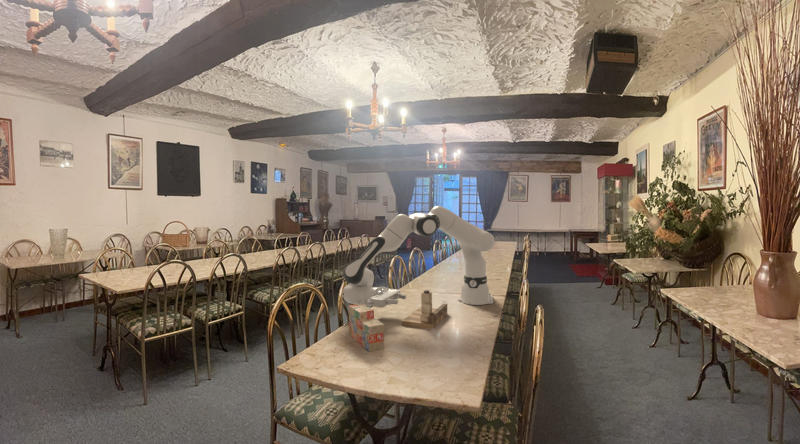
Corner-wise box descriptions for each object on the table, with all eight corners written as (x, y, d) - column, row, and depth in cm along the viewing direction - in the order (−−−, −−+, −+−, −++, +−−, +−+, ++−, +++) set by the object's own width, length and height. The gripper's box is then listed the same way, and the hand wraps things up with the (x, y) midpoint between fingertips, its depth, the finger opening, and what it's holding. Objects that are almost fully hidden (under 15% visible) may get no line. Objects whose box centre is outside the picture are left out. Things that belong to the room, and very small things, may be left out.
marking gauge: (425, 316, 168) (425, 288, 168) (433, 317, 167) (433, 289, 166) (420, 321, 162) (419, 292, 162) (429, 322, 161) (428, 292, 160)
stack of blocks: (384, 348, 137) (383, 316, 137) (368, 352, 134) (368, 318, 134) (363, 331, 156) (362, 302, 156) (348, 334, 153) (348, 304, 153)
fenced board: (420, 311, 184) (419, 301, 184) (447, 314, 178) (447, 303, 178) (401, 325, 163) (401, 314, 163) (432, 329, 157) (432, 317, 157)
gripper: (363, 295, 164) (392, 298, 159) (383, 285, 183) (409, 288, 177) (364, 309, 164) (392, 312, 159) (384, 298, 183) (410, 301, 178)
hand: (401, 299), depth 168 cm, fingers open, 8 cm apart
